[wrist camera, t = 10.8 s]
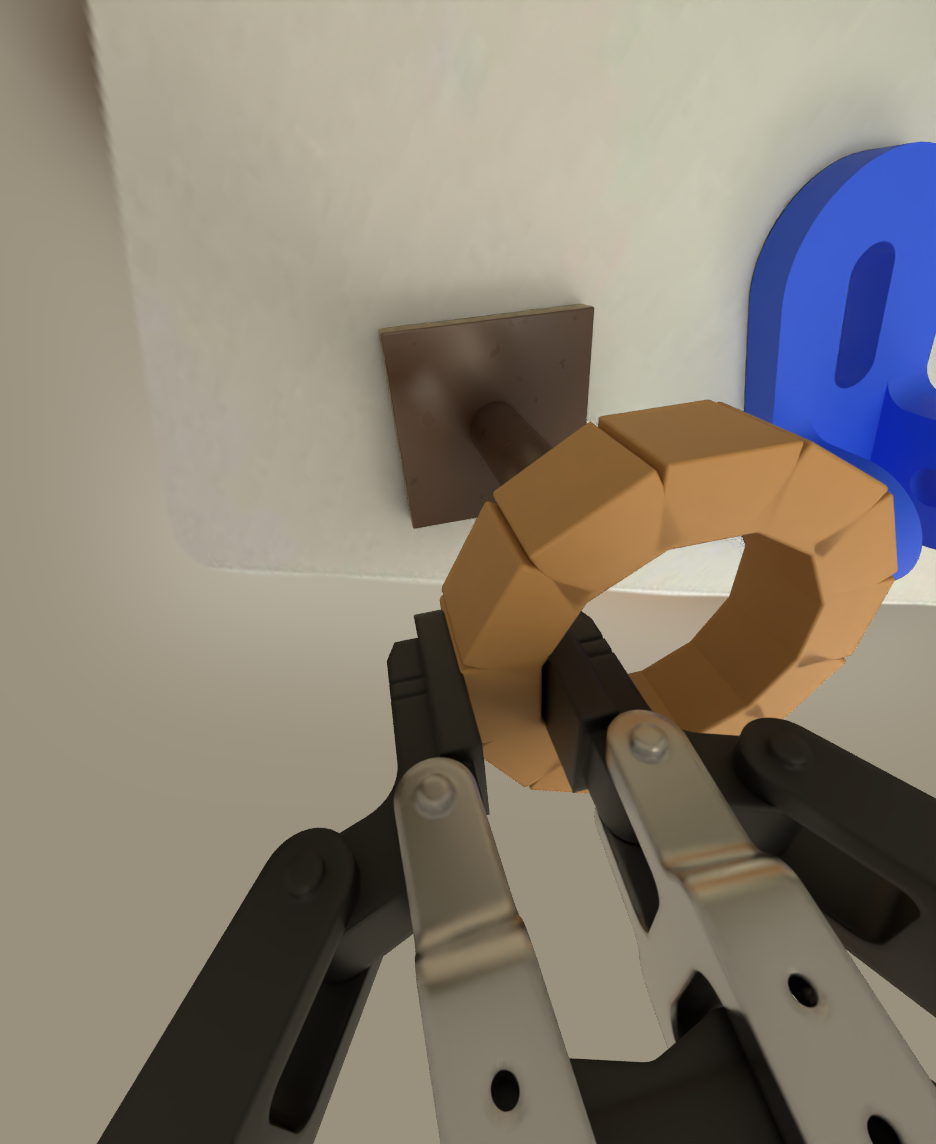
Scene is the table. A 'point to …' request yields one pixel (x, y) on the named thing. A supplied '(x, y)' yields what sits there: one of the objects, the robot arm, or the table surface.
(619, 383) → the table surface
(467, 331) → the brown peg stand
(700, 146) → the table surface
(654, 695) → the orange segmented ring
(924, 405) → the bracket
